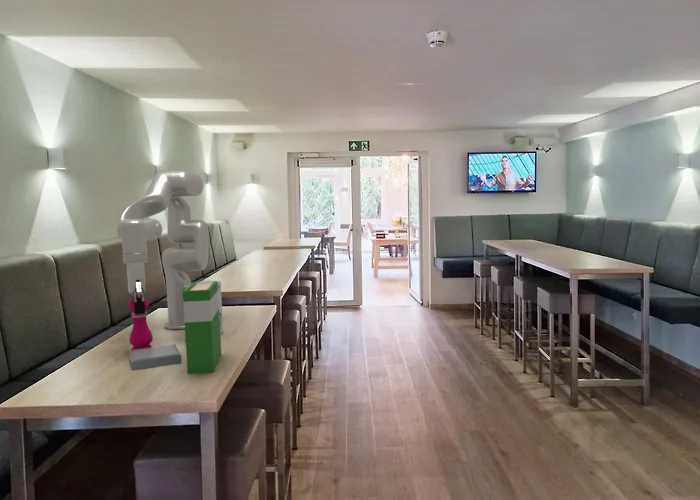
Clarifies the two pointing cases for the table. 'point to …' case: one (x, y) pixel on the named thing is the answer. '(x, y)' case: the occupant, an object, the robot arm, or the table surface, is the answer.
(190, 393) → the table surface
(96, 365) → the table surface
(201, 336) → the hardback book
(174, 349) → the slate stand
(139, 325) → the pepper mill
